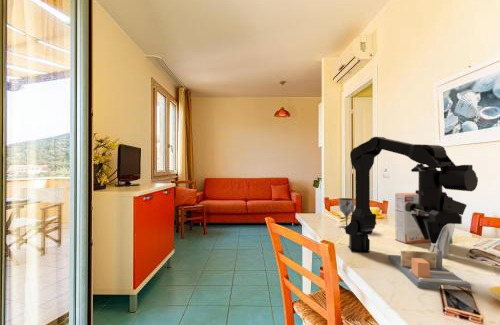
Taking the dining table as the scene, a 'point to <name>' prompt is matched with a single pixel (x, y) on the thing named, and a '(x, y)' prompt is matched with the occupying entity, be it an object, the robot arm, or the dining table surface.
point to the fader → (420, 268)
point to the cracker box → (406, 220)
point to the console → (431, 274)
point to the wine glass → (346, 207)
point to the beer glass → (443, 240)
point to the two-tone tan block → (428, 256)
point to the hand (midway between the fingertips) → (430, 241)
